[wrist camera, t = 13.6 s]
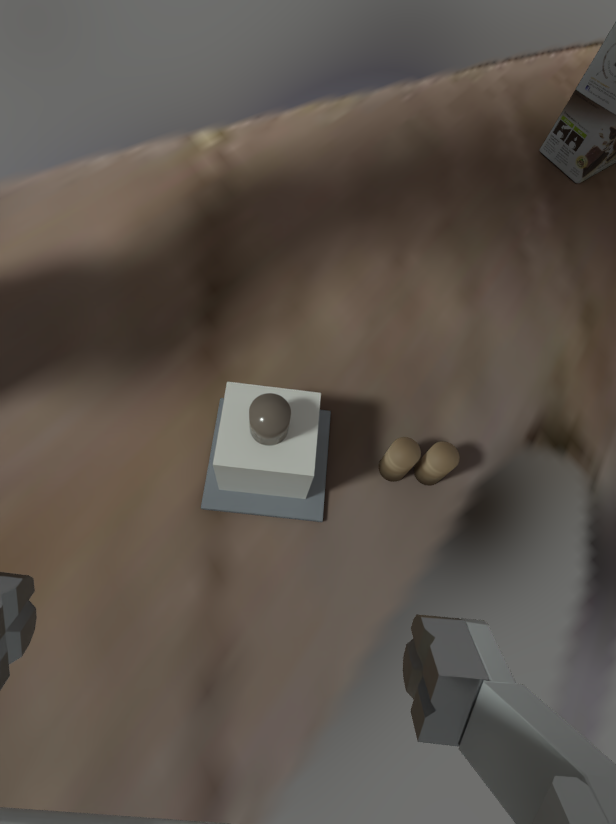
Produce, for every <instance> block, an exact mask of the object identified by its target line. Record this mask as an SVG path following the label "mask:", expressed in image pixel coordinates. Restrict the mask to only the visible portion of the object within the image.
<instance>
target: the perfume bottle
mask: <svg viewBox="0 0 616 824" xmlns="http://www.w3.org/2000/svg"><path fill="white" fill-rule="evenodd" d="M320 399H321V393H317V392H309V391H300V390H292V389H284V388H275V387H267V386H259V385H251V384H242V383H234V382H227V386H226V391H225V397H224V403H223V409H222V414H221V420H220V426H219V432H218V437H217V443H216V449H215V455H214V460H213V468H214V472H215V475H216V479H217V483H218V487H219V490H227V491H236V492H245V493H255V494H264V495H273V496H282V497H291V498H300V499H306V496H307V494H308V491H309V488H310V486H311V483H312V480H313V477H314V470H315V458H316V446H317V434H318V422H319V410H320Z"/></svg>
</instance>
